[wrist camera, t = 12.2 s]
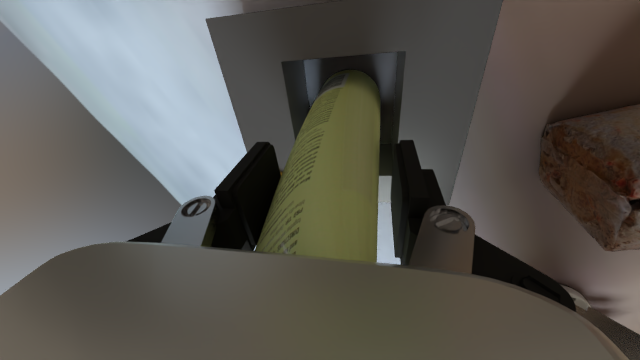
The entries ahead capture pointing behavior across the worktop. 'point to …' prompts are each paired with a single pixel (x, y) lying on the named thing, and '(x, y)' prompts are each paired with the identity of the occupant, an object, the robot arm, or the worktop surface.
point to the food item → (597, 173)
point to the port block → (358, 39)
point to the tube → (331, 177)
